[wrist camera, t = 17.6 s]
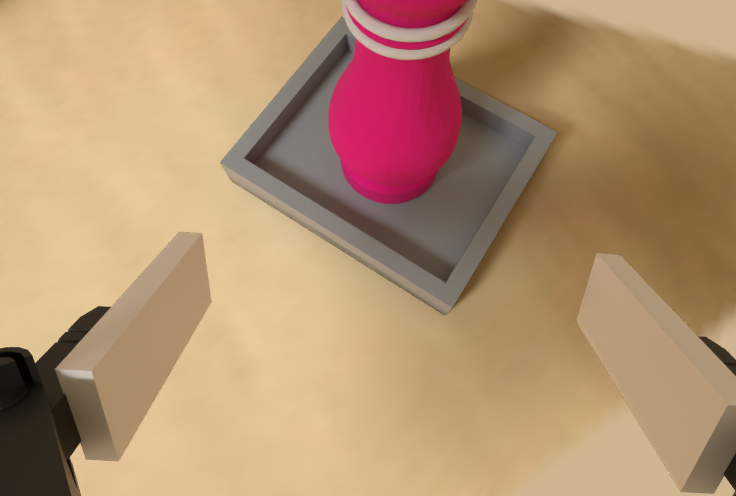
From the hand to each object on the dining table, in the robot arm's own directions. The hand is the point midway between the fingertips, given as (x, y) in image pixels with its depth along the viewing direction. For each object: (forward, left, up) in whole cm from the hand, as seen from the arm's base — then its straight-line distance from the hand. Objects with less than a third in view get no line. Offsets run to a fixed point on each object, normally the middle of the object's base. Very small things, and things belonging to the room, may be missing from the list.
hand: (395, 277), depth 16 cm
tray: (-5, +9, -12) cm, 16 cm away
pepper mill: (-5, +9, -11) cm, 16 cm away
